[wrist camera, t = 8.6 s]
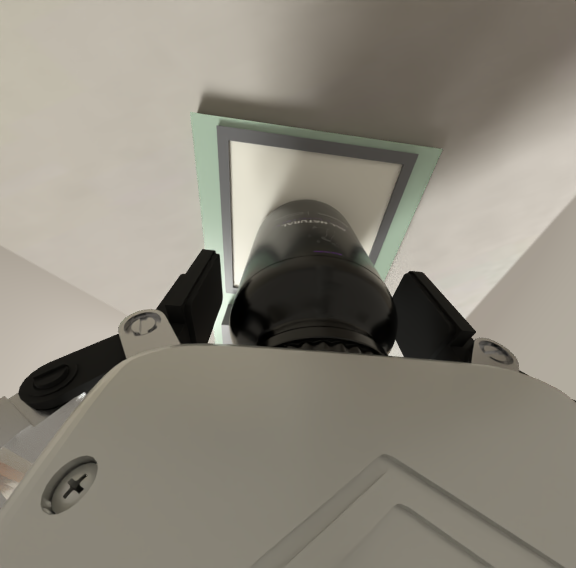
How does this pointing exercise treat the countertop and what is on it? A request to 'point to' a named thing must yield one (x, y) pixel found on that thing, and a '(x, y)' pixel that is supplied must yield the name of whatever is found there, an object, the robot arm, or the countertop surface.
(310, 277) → the supplement bottle
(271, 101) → the countertop surface
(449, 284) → the countertop surface
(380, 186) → the mint green tray
